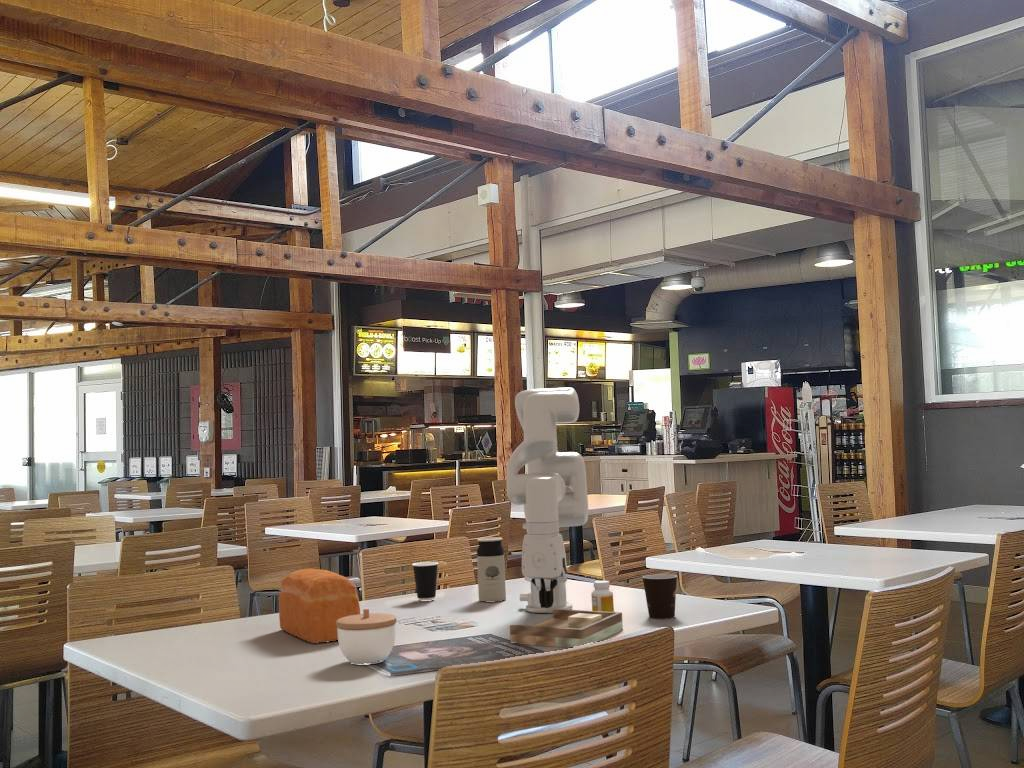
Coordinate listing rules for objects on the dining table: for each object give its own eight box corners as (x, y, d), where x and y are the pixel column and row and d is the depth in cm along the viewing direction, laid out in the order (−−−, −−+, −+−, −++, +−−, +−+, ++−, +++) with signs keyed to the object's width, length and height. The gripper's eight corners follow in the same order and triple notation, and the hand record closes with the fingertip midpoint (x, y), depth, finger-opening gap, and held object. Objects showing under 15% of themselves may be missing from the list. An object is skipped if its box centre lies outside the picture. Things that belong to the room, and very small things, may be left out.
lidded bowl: (402, 664, 193) (400, 610, 194) (340, 671, 189) (339, 616, 190) (392, 653, 205) (390, 602, 206) (334, 659, 201) (333, 607, 202)
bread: (327, 623, 246) (325, 563, 248) (364, 638, 224) (362, 571, 225) (275, 630, 239) (274, 568, 241) (309, 646, 217) (307, 577, 218)
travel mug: (481, 598, 277) (478, 537, 278) (507, 597, 276) (505, 536, 277) (476, 603, 269) (474, 540, 270) (503, 602, 268) (501, 539, 269)
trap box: (510, 643, 210) (509, 625, 210) (555, 625, 229) (554, 609, 229) (582, 648, 201) (581, 629, 201) (622, 629, 220) (621, 612, 220)
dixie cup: (445, 599, 278) (443, 562, 279) (424, 603, 272) (423, 565, 273) (428, 597, 284) (427, 561, 284) (407, 601, 278) (406, 564, 279)
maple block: (568, 630, 212) (568, 616, 212) (579, 626, 216) (578, 613, 216) (591, 631, 208) (591, 618, 209) (602, 627, 213) (601, 614, 213)
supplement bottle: (617, 619, 233) (615, 580, 234) (610, 623, 228) (608, 583, 229) (597, 618, 236) (595, 579, 236) (589, 622, 231) (587, 583, 231)
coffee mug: (669, 620, 228) (666, 579, 229) (638, 618, 234) (636, 578, 234) (690, 613, 238) (688, 573, 238) (660, 610, 243) (658, 572, 244)
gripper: (507, 530, 220) (511, 608, 219) (564, 531, 213) (568, 612, 212) (523, 525, 226) (526, 601, 226) (578, 527, 219) (582, 605, 219)
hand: (546, 606), depth 219 cm, fingers closed
